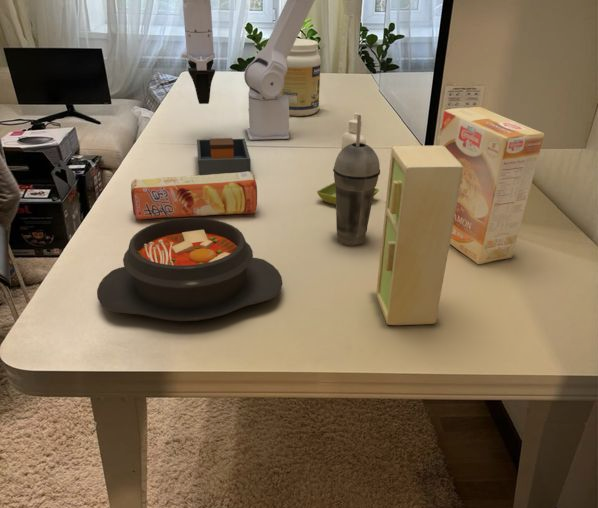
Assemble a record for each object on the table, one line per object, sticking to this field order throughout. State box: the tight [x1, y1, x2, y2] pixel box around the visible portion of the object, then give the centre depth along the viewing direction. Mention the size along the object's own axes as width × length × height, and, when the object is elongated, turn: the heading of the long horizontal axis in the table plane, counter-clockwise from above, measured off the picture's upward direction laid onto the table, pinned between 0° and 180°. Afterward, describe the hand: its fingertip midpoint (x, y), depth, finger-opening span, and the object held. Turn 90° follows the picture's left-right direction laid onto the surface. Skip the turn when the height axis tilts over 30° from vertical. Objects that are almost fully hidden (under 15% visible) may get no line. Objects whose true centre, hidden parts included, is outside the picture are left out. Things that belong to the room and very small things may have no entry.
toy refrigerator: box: [375, 145, 463, 326], centre depth 75 cm, size 8×7×21 cm
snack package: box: [130, 171, 258, 220], centre depth 103 cm, size 21×7×7 cm, turn 100°
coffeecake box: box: [438, 106, 545, 265], centre depth 93 cm, size 15×7×20 cm, turn 23°
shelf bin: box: [196, 137, 252, 175], centre depth 123 cm, size 10×13×4 cm
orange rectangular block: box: [209, 137, 234, 159], centre depth 123 cm, size 5×4×5 cm
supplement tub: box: [280, 38, 322, 117], centre depth 157 cm, size 12×12×17 cm
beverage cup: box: [332, 114, 381, 246], centre depth 92 cm, size 7×7×20 cm
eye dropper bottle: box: [341, 112, 367, 150], centre depth 120 cm, size 4×6×12 cm
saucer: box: [316, 181, 380, 206], centre depth 111 cm, size 9×9×2 cm
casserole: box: [96, 217, 283, 322], centre depth 80 cm, size 25×19×8 cm
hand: (203, 99), depth 133 cm, fingers open, 7 cm apart
